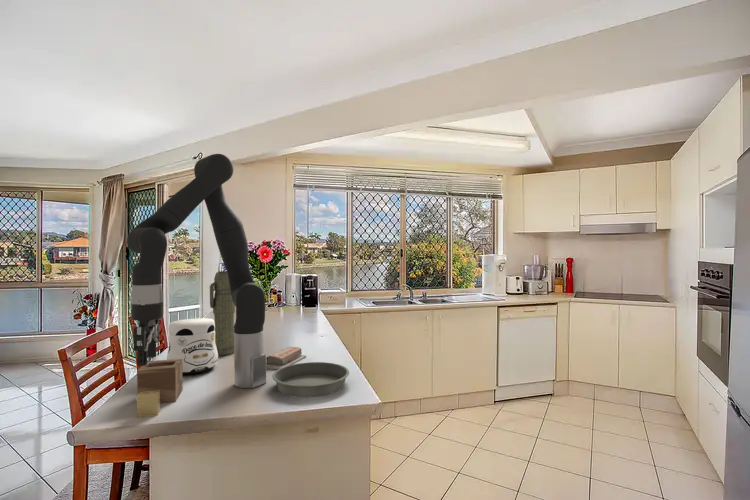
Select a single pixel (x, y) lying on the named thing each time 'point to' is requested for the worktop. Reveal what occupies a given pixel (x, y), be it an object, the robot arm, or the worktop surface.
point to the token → (148, 403)
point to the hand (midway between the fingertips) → (147, 361)
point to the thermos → (223, 313)
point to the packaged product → (284, 358)
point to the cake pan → (310, 379)
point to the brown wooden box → (161, 378)
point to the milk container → (193, 344)
